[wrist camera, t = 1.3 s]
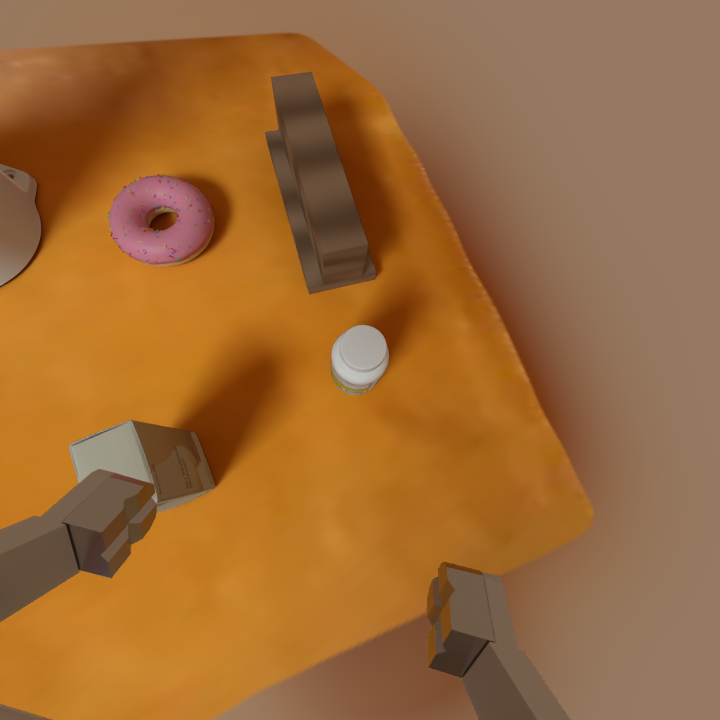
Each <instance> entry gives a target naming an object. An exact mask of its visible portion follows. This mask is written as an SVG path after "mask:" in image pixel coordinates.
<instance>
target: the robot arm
mask: <svg viewBox="0 0 720 720" xmlns="http://www.w3.org/2000/svg"><path fill="white" fill-rule="evenodd" d="M36 190H37V183H36V180H35V179H34V178H33V177H31V176H30V175H29V174H27V173H26V172H24V171H21V170H18V169H15V168H12V167H9V166H5V165H2V164H0V286H1V285H3V284H4V283H6V282H7V281H9V280H10V279H12V278H13V277H14V276H16V275H17V274H18V273H19V272H20V271H21V270H22V269H23V268H24V267H25V266H26V265H27V264H28V262H29V261H30V260H31V258H32V257H33V255H34V253H35V251H36V249H37V247H38V244H39V241H40V236H41V221H40V217H39V214H38V211H37V208H36V205H35V196H36ZM154 494H155V487H154V484H152V483H148V482H145V481H141V480H138V479H135V478H131V477H128V476H124V475H121V474H118V473H114V472H110V471H107V470H103V469H98V470H96V471H93V472H92V473H90V474H89V475H88V476H87V477H86V478H85V479H83V480H82V481H81V482H80V483H79V484H78V485H77V486H75V487H74V488H73V489H72V490H71V491H70V492H69V493H67V494H66V495H65V496H64V497H63V498H62V499H60V500H59V501H58V502H57V503H56V504H55V505H54V506H52V507H51V508H50V509H49V510H48V511H47V512H46V513H44V514H43V515H42V516H41V517H38V516H33V517H30V518H28V519H26V520H23V521H21V522H18V523H16V524H13V525H11V526H8V527H6V528H3V529H1V530H0V622H1V621H3V620H4V619H6V618H7V617H9V616H11V615H12V614H14V613H15V612H17V611H19V610H20V609H22V608H23V607H25V606H27V605H28V604H30V603H31V602H33V601H35V600H36V599H38V598H39V597H41V596H43V595H44V594H46V593H47V592H49V591H50V590H52V589H54V588H55V587H57V586H58V585H60V584H62V583H63V582H65V581H66V580H68V579H70V578H71V577H73V576H74V575H76V574H78V573H79V570H81V571H85V572H89V573H93V574H97V575H101V576H105V577H109V578H112V577H113V576H114V574H115V573H116V572H117V571H118V569H119V568H120V567H121V565H122V564H123V563H124V562H125V560H126V559H127V558H128V557H129V555H130V554H131V544H133V543H135V542H137V541H139V540H141V539H143V537H144V536H145V535H146V533H147V532H148V531H149V529H150V528H151V526H152V524H153V522H154V520H155V517H156V512H157V504H156V502H155V501H154V500H153V499H152V496H153V495H154ZM427 618H428V620H429V622H430V624H431V625H432V629H431V631H430V633H429V635H428V637H427V638H428V667H429V668H432V669H435V670H439V671H441V672H444V673H448V674H451V675H454V676H457V677H460V678H462V683H463V685H464V687H465V689H466V692H467V694H468V696H469V698H470V700H471V703H472V705H473V707H474V709H475V711H476V714H477V716H478V718H479V720H570V718H569V717H568V715H567V714H566V712H565V711H564V710H563V708H562V707H561V705H560V704H559V702H558V701H557V699H556V698H555V696H554V695H553V694H552V692H551V691H550V689H549V687H548V686H547V684H546V683H545V681H544V680H543V679H542V677H541V676H540V674H539V673H538V671H537V670H536V668H535V667H534V665H533V664H532V662H531V661H530V659H529V658H528V656H527V655H526V654H525V652H524V651H521V650H518V647H517V643H516V638H515V634H514V629H513V625H512V620H511V616H510V612H509V607H508V603H507V599H506V594H505V590H504V585H503V581H502V580H501V578H500V577H499V576H496V575H492V574H488V573H484V572H480V571H479V570H475V569H471V568H467V567H463V566H459V565H455V564H451V563H447V562H443V563H441V565H440V566H439V568H438V577H436V578H434V579H433V580H432V582H431V585H430V587H429V592H428V597H427ZM0 720H52V719H49V718H45V717H42V716H39V715H35V714H32V713H29V712H25V711H22V710H19V709H15V708H12V707H9V706H5V705H2V704H0Z"/></svg>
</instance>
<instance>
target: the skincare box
mask: <svg viewBox="0 0 720 720" xmlns="http://www.w3.org/2000/svg"><path fill="white" fill-rule="evenodd" d="M69 449H70V453H71V456H72V460H73V464H74V467H75V471H76V474H77V479H78V483H80V482H81V481H82V480H83V479H85V478H86V477H87V476H88V475H89V474H90V473H92V472H93V471H96V470H98V469H103V470H107V471H110V472H114V473H118V474H121V475H124V476H128V477H131V478H135V479H138V480H141V481H145V482H148V483H152V484H154V487H155V494H154V495H153V496H152V499H153V500H154V501H155V502H156V504H157V512H156V513H159V512H162V511H166V510H169V509H172V508H175V507H177V506H180V505H182V504H184V503H187V502H189V501H191V500H193V499H195V498H197V497H199V496H202V495H204V494H205V493H207V492H209V491H211V490H213V489H215V484H214V481H213V477H212V474H211V471H210V468H209V465H208V463H207V460H206V457H205V455H204V452H203V449H202V447H201V444H200V442H199V440H198V437H197V435H196V433H195V432H191V431H186V430H180V429H175V428H170V427H164V426H159V425H154V424H149V423H143V422H138V421H133V420H129V421H126V422H124V423H122V424H119V425H116V426H113V427H111V428H108V429H105V430H103V431H100V432H98V433H95V434H93V435H90V436H88V437H85V438H83V439H81V440H78V441H76V442H73V443H71V444H70V447H69Z"/></svg>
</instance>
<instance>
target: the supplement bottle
mask: <svg viewBox="0 0 720 720" xmlns="http://www.w3.org/2000/svg"><path fill="white" fill-rule="evenodd" d="M388 362H389V350H388V347H387V344H386V340H385V338H384V336H383V335H382V333H381V332H380V331H379V330H377V329H376V328H374V327H372V326H369V325H358V326H354V327H352V328H350V329H349V330H348V331H346V332H344V333H343V334H341V335H340V336H339V337H338V338H337V340H336V341H335V343H334V345H333V348H332V354H331V375H332V379H333V381H334V383H335V384H336V386H337V387H338V388H339V389H340V390H342V391H343V392H345V393H348V394H352V395H359V394H363V393H366V392H368V391H369V390H371V389H372V388H373V387H374V386H375V385H376V383H377V382H378V380H379V379H380V378H381V376H382V375H383V374H384V372H385V370H386V368H387V366H388Z"/></svg>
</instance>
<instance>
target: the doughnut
mask: <svg viewBox="0 0 720 720" xmlns="http://www.w3.org/2000/svg"><path fill="white" fill-rule="evenodd" d="M134 180H135V179H134ZM197 188H198V187H197ZM197 188H196V187H195V186H193V185H192V184H190V183H188V182H186V181H184V180H182V179H181V178H180V179H179V178H178V176H177V178H176V177H171V176H167V175H165V176H164V174H163V175H159V174H158V175H157V176H149V177H145V178H142V179H141V177H140V178H139V179H137V181H136V180H135V181H134V182H133V183H132V182H131V184H129V185H128V186H126V187H125V186H124V189H123V190H122V191H121V192H120V193H119V194H118V195H117V197H116V196H115V199H114V202H113V204H112V207H111V210H110V212H109V213H110V215H109V217H108V218H109V223H110V230H109V231H111V233H112V234H111V236H112V235H113V239H114V240H115V242H116V243H117V245H118V246H119V247H120V248H121V250H122V251H123V252H122V253H124V252H125V253H126V254H127V255H128V256H130V257H132V258H134V259H136V260H138V261H140V262H142V263H144V264H147V265H151V266H157V267H171V266H177V265H181V264H184V263H186V262H188V261H190V260H192V259H194V258H195V257H197V256H198V255H199V254H200V253H202V252H203V251H204V249H205V248H206V247H207V245H208V244H209V242H210V240H211V238H212V235H213V231H214V217H213V210H212V208H213V207H211V205H210V203H209V201H208V199H207V198H206V197H205V195H204V194H203V193H202V192H201V191H200V190H199V188H198V189H197ZM166 212H173V213H177V217H178V219H177V221H176V223H175V224H174V225H173V226H171V227H170V228H168V229H164V230H162V229H161V230H160V231H158V229H157V230H156V231H154V230H153V228H152V230H151V228H150V223H151V222H152V220H153V219H154V218H155V217H156V216H158V215H160V214H162V213H166ZM109 213H108V214H109Z"/></svg>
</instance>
